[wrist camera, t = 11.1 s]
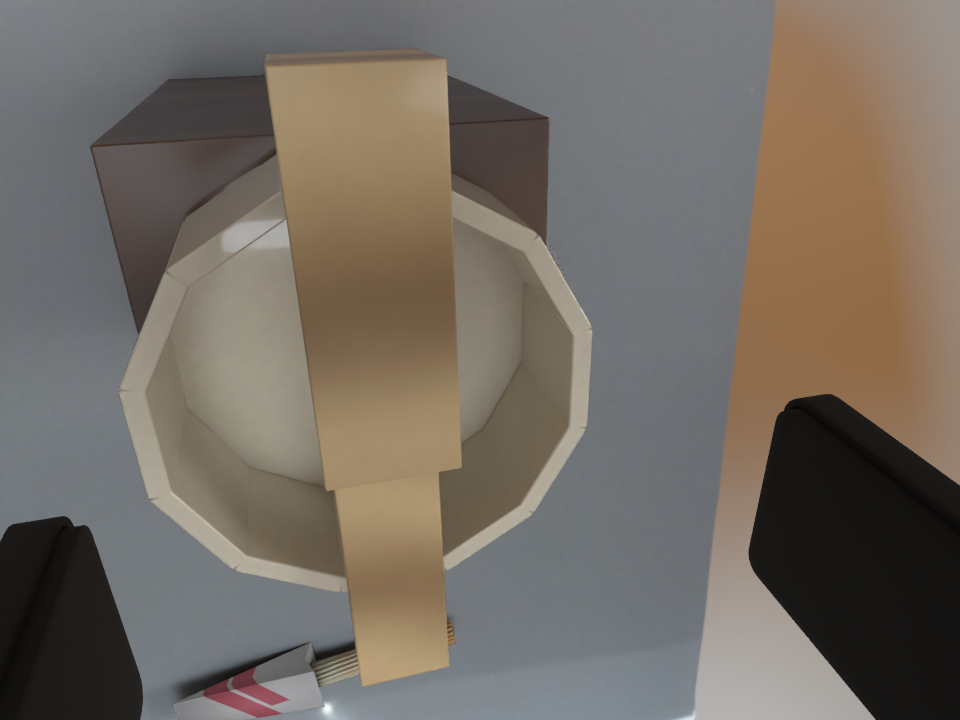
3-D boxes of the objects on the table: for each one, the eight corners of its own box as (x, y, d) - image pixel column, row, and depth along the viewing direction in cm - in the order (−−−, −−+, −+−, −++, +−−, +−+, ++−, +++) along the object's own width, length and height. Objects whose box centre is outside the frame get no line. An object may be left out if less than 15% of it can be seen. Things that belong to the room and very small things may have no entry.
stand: (167, 79, 35) (88, 145, 19) (431, 67, 38) (550, 117, 22) (216, 325, 41) (187, 528, 25) (442, 299, 44) (541, 466, 28)
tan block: (263, 53, 15) (263, 65, 12) (416, 48, 16) (447, 58, 13) (351, 664, 23) (362, 748, 20) (449, 641, 24) (471, 720, 21)
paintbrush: (167, 716, 48) (454, 627, 53) (170, 683, 50) (445, 601, 55) (183, 753, 50) (460, 663, 55) (185, 719, 52) (450, 636, 57)
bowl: (109, 159, 19) (64, 205, 15) (537, 131, 22) (603, 164, 18) (197, 517, 25) (183, 625, 21) (531, 460, 28) (580, 545, 23)
